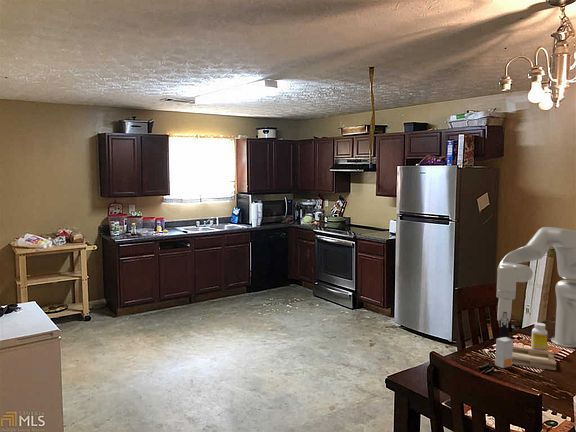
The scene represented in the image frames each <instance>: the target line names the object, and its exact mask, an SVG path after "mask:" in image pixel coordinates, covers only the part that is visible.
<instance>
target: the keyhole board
mask: <svg viewBox="0 0 576 432" xmlns="http://www.w3.org/2000/svg"><path fill="white" fill-rule="evenodd" d="M512 365H517V366H525V367H531V368H536V369H537V368H538V369H543V370H544V369H545V370H553V371H557V363H556V360H555V356H554V352H553V351H549V350H548V351H542V350H534V349H531V348H525V347H519V346H518V347H517V346H513V353H512Z"/></svg>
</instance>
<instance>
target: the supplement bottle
mask: <svg viewBox="0 0 576 432" xmlns="http://www.w3.org/2000/svg"><path fill="white" fill-rule="evenodd" d="M546 327H547V326H546V324H545V323H543V322H534V327H533V328H532V330H531V339H530V340H531V341H530V342H531V343H530V349H534V350H542V351H547V348H548V331H547V330H546Z"/></svg>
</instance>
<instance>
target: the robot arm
mask: <svg viewBox="0 0 576 432" xmlns="http://www.w3.org/2000/svg"><path fill="white" fill-rule="evenodd" d="M551 247H552V248H553V249H554V250H555V254H556V255H555V256H556V266H557V273H558V274H557V275H558V276H559V278H561V280H559V281H557V282H556V284H555V290H554V291H555V296H556V297H555V298H556V311H555V312H556V313H555V327H554V328H555V329H554V333H555V334H554V336H553V337H551V338H550V341H551V343H552V344H554V345H557V346H559V347H564V348H571V349H572V348H573V349H574V348H576V230H573V229H568V228H562V227H561V228H560V227H553V226H543V227H540V228H539V229H538V230H537V231H536V233H534V234H533V236H532V238H530V239H529V241H528V242H527V243H526V244H525V245H524V246H522V247H518V248H517V249H515V250H511V251H510V252H508V253H507V254H506V255H505V256H504V257H503V258H502V259H501V261H500V262H499V264H498V266H497V269H496V270H497V275H496V276H497V278H496V297H495V298H498V302H497V314H496V315H497V319H496V320H497V321H498V322H499V336H500V337H507V338H509V337H508V336H509V323H510V322H511V317H512V316H511V314H512V305H513V300H515V299H516V292H517V283H527V282H529V281H530V280H532V278H533V276H534V275H533V274H534V272H533V269H532V268H531V267H530V266H529V265H525V264H522V263H527V262H534V261H539V260H540V259H542V258H543V257H544V256H545V255H546V254H547V252H548V251H549V250H550V248H551Z"/></svg>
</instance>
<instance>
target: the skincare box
mask: <svg viewBox="0 0 576 432" xmlns="http://www.w3.org/2000/svg"><path fill="white" fill-rule="evenodd" d="M513 347H514V339H513V338H510V337H505V336H502V337H499V338H496V341H495V354H494V358H495V359H494V365H495V367H496V366H497V367H499V368H501V369H505V368H508V367H513V366H512V365H513V364H512V353H513Z"/></svg>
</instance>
